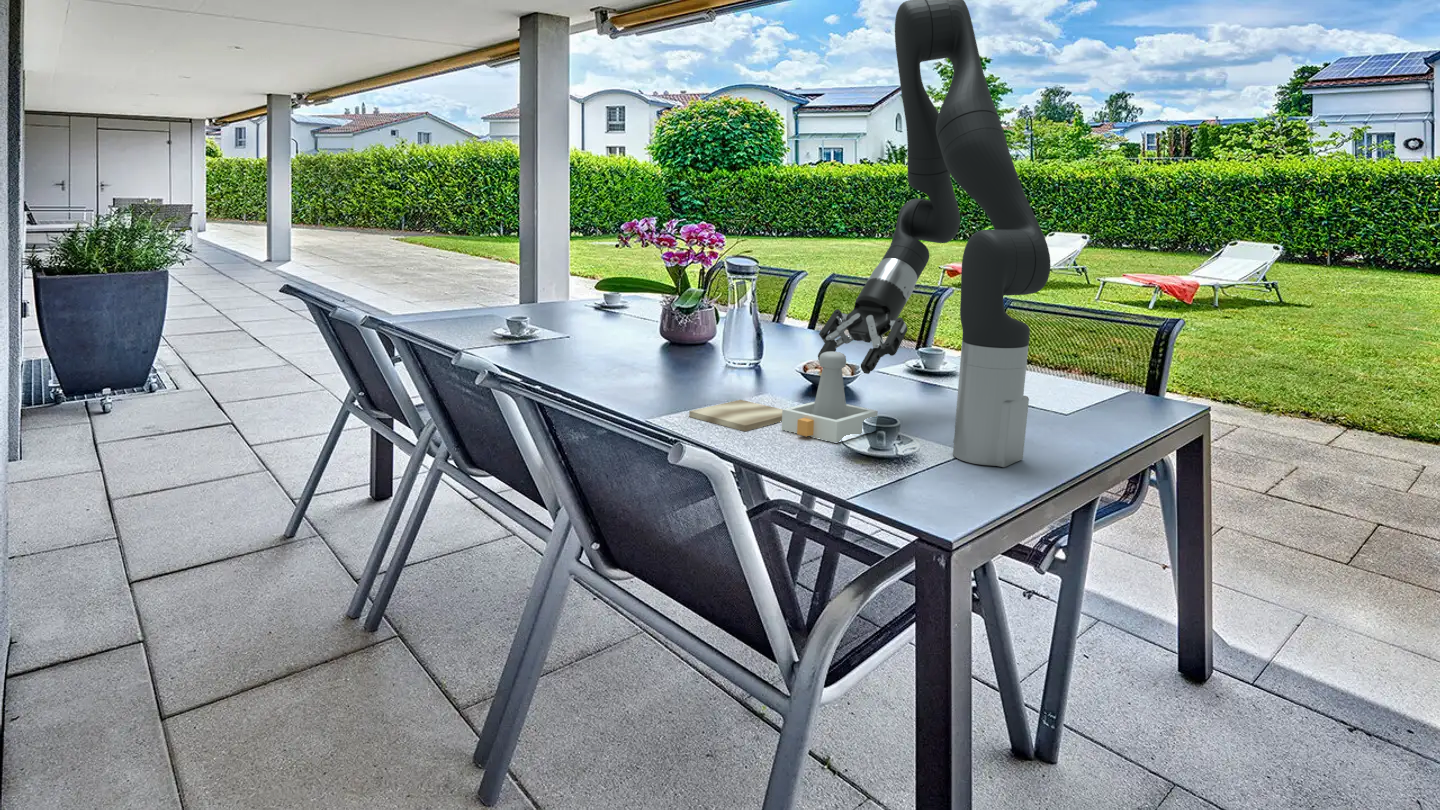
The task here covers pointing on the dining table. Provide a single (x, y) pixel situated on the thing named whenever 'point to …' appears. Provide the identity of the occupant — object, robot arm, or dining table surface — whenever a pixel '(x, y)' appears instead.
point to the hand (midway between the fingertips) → (842, 366)
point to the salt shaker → (831, 387)
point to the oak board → (739, 415)
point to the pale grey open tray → (824, 422)
